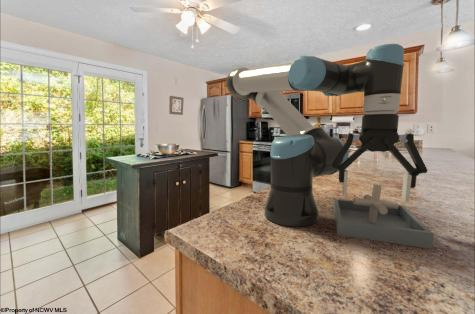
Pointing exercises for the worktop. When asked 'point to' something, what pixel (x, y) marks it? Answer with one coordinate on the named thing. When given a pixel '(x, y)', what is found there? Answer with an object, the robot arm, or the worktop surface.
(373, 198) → the pipe connector
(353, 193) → the worktop surface
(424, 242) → the tray
